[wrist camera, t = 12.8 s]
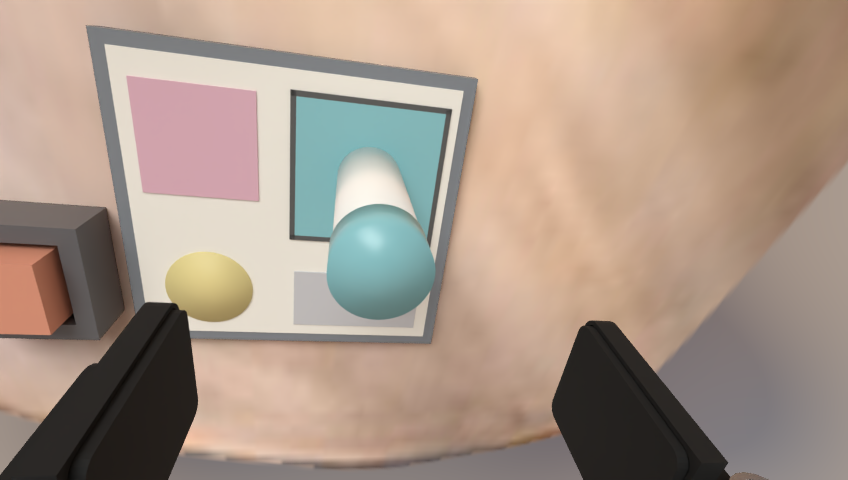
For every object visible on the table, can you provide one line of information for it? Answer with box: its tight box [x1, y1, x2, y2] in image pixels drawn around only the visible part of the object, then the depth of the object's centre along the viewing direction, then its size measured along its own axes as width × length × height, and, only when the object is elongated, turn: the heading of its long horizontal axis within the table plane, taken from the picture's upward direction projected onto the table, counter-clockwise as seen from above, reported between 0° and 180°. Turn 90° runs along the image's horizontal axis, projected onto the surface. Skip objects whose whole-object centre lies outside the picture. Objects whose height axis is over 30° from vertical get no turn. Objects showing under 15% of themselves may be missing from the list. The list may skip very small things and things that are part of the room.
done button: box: [0, 243, 73, 335], centre depth 23 cm, size 4×4×2 cm
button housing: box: [0, 200, 124, 340], centre depth 24 cm, size 7×7×3 cm
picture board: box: [86, 26, 478, 344], centre depth 26 cm, size 19×18×1 cm
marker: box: [327, 147, 436, 320], centre depth 20 cm, size 4×4×11 cm
